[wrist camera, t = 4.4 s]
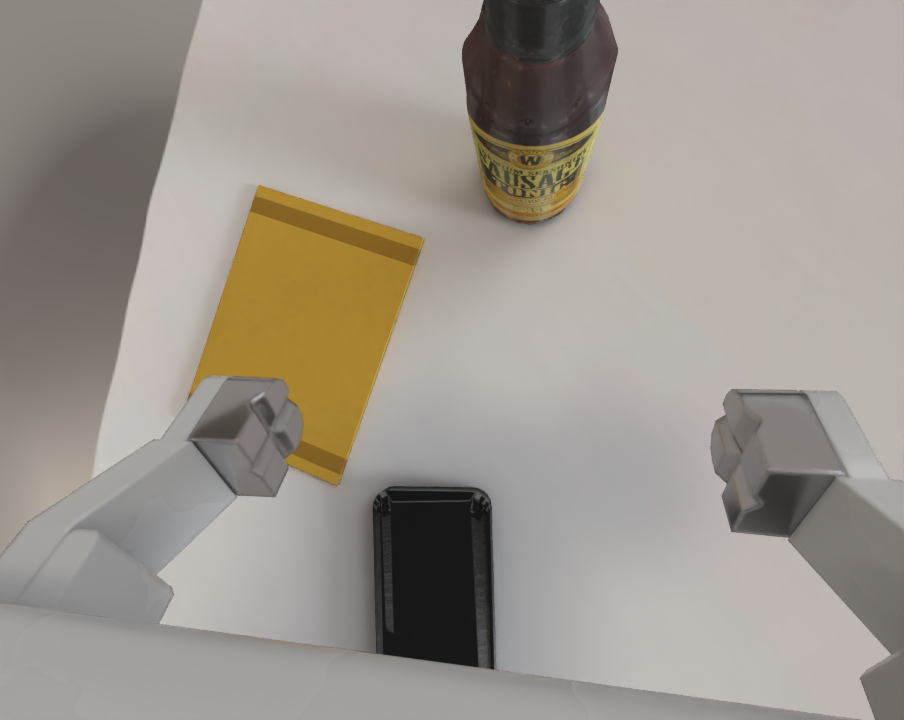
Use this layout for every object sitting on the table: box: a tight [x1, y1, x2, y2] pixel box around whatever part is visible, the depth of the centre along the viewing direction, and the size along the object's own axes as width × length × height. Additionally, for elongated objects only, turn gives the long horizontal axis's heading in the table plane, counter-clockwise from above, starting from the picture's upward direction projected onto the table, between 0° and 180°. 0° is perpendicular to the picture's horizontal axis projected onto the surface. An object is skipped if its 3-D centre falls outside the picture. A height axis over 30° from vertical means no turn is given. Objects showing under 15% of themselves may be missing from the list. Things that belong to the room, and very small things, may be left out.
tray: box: [187, 185, 424, 485], centre depth 35 cm, size 18×13×1 cm
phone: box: [373, 486, 496, 670], centre depth 32 cm, size 8×1×15 cm
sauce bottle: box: [462, 0, 618, 224], centre depth 22 cm, size 7×6×20 cm
